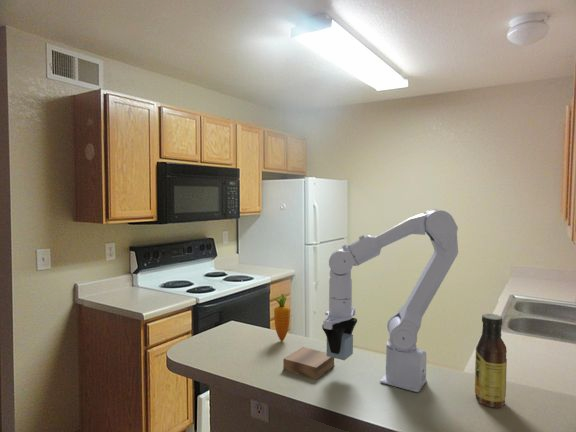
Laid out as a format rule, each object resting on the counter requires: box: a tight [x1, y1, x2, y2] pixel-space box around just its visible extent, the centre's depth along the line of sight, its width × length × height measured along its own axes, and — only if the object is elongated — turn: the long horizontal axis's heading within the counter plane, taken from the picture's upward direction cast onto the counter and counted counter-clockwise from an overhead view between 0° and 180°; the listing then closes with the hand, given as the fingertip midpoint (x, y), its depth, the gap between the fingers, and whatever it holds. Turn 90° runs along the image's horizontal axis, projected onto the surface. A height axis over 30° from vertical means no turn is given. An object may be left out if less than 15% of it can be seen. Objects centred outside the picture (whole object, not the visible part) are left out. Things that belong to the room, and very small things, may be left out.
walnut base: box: [283, 346, 335, 380], centre depth 108 cm, size 10×10×3 cm
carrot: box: [273, 293, 291, 342], centre depth 127 cm, size 5×5×15 cm
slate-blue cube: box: [326, 333, 354, 361], centre depth 103 cm, size 5×5×5 cm
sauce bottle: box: [474, 313, 508, 409], centre depth 90 cm, size 6×6×20 cm
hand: (339, 349), depth 103 cm, fingers closed on slate-blue cube, 5 cm apart
